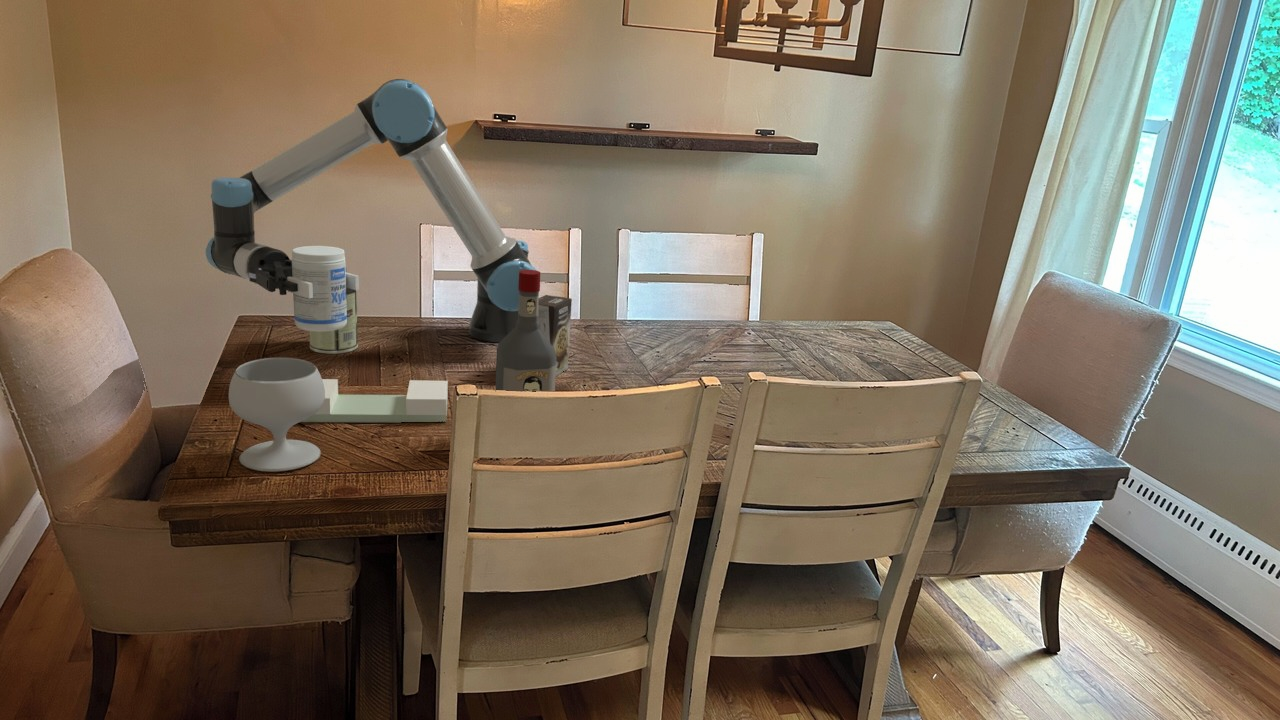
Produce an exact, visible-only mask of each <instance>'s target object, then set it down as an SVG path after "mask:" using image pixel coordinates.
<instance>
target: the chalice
mask: <svg viewBox="0 0 1280 720" xmlns="http://www.w3.org/2000/svg"><path fill="white" fill-rule="evenodd" d="M322 379H323V378H322V375H321V373H320V371H319V370H318V368H317V365H315V364H314V363H312V362H310V361H308V360H305V359H301V358H296V357H269V358H268V357H267V358H259V359H255V360H250V361H248V362H244V363H243V364H241V365H239V366H238V367H237V368H236V369H235V371H234V373H233V375H232V377H231V380H230V383H229V387H228V403H229V406H230V408H231V410H232V411H233V412H234V414H235V415H236V416H237V417H239V418H240V419H242V420H244V421H247V422H249V423H252V424H255V425H259V426H261V427H263V428H266V429H267V430H268V431H270V433H271V434H272V436H273V439H272V440H269V441H264V442H260V443H256V444H254V445H252V446H249V447H247V448H246V449H245V450H244V451H243V452H241V453H240V455H239V458H238V461H239V462H240V464H241V465H243V466H244V467H245V468H247V469H251V470H254V471H260V472H274V473H275V472H277V473H278V472H286V471H292V470H293V471H294V470H298V469H301V468H304V467H306V466H309V465H311V464H313V463H315V462H316V461H317V460H319V458H320V457H321V456H322V455H321V454H322V452H321V449H320V448H319V447H318V446H316V445H315V444H314V443H312V442H308V441H306V440H300V439H287V434H288V432H289V430H290V429H291V428H292V427H293V426H294V425H297V424H298V423H302V422H301V421H303V420H305V419H307V418H309V417H311V416H312V415H313V414H315V413H316V412H317V411H318V410H319V409H320V408H321V406H322V404H323V402H324V399H325V388H324V384H323V380H322Z"/></svg>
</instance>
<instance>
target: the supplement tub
mask: <svg viewBox="0 0 1280 720" xmlns="http://www.w3.org/2000/svg"><path fill="white" fill-rule="evenodd" d="M291 254H292V257H291V260H292V277H294V278H297V279H300V280H303V281H307V282H310V283H312V285H313V298H306V297H303V296H300V295H297V294H294V293H292V295H293V298H292V299H293V315H294V316H293V317H294V318H293V319H294V325H295V326H296V327H297V329H298V328H299V329H300V330H303V331H308V332H309V331H332V330H337V329H340V328H343V327H344V326H345V325H346V323H347V299H346V272H347V266H346V255H345V250H344V249H343V248H340V247H337V246H327V245H307V246H306V245H305V246H300V247H299V246H298V247H295V248H293V249H292V250H291Z"/></svg>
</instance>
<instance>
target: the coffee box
mask: <svg viewBox="0 0 1280 720" xmlns="http://www.w3.org/2000/svg"><path fill="white" fill-rule="evenodd" d="M572 301H573V299H572V298H570V297H566V296H565V297H563V296H558V295H557V296H556V295H549V294H545V295H543V296H541V297H539V301H538V323H539V329H540V331H541V332H542V333H543V334H544V336H545V337H546V338H547V340H548V341H549V342H550V344H551V345H552V346H553V348H554V349H555V352H556V356H557V358H556V377H558V376H559V375H561V374H562V373H564V372H566V371H567V370H568V369H569V356H570V355H569V354H570V338H571V337H570V333H571V332H570V331H571V316H572ZM565 370H566V371H565ZM563 371H564V372H563Z"/></svg>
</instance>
